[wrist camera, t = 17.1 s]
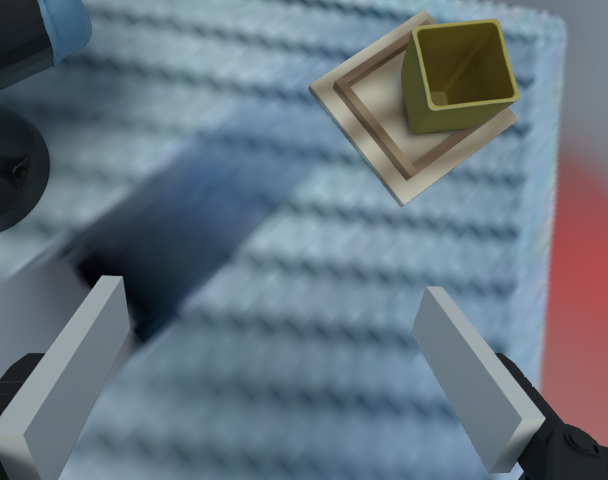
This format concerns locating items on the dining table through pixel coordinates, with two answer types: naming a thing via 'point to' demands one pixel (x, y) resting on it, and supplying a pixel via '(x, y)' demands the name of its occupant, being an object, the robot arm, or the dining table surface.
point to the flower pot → (456, 75)
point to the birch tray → (395, 117)
